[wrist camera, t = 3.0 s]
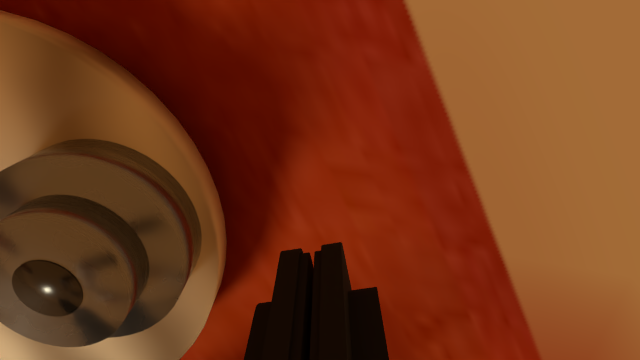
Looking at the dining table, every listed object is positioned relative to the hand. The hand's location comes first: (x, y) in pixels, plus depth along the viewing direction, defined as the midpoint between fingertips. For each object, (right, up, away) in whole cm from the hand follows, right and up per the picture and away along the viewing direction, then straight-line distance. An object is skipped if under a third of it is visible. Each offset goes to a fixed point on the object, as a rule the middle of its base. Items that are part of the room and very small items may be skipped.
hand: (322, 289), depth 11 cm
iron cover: (-10, +1, +8) cm, 13 cm away
